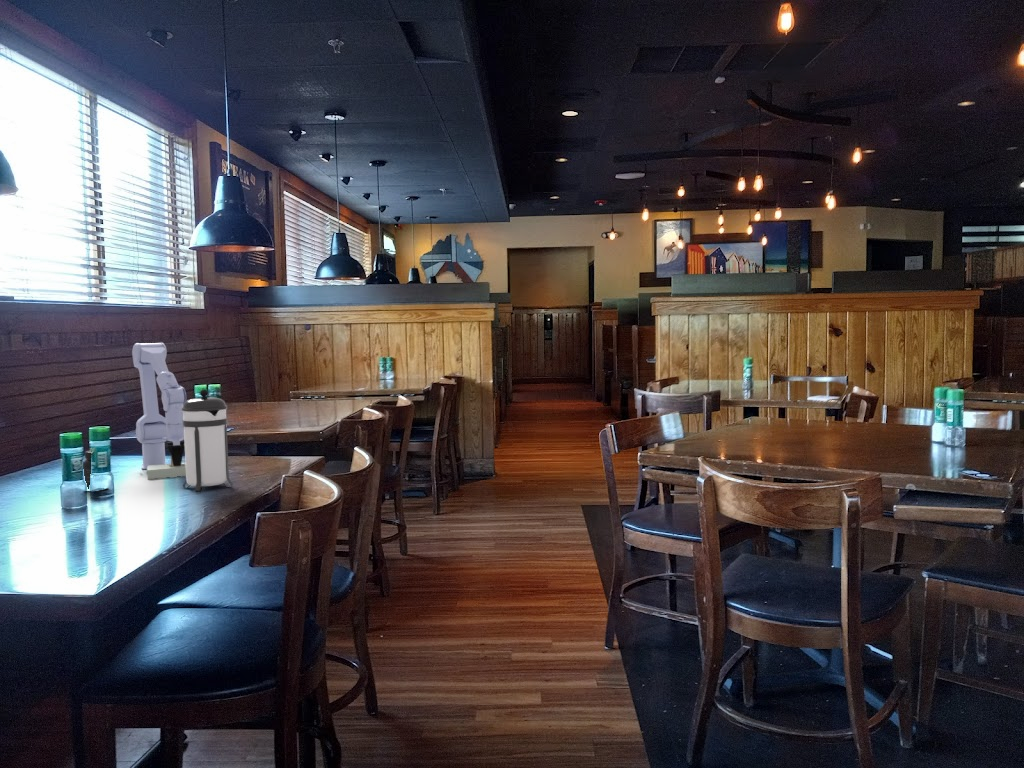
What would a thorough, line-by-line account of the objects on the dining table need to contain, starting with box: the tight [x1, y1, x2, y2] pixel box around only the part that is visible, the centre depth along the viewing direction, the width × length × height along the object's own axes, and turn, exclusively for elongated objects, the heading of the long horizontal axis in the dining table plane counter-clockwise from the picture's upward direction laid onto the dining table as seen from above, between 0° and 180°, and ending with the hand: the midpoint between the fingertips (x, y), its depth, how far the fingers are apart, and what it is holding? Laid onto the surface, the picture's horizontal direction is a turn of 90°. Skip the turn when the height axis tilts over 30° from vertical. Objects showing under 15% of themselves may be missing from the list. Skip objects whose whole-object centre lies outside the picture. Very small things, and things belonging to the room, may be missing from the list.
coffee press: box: [182, 389, 234, 493], centre depth 229 cm, size 17×16×30 cm
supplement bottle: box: [82, 449, 92, 489], centre depth 229 cm, size 7×7×12 cm
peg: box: [170, 455, 178, 467], centre depth 253 cm, size 3×3×6 cm
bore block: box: [146, 462, 186, 480], centre depth 253 cm, size 10×18×3 cm, turn 115°
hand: (177, 464), depth 253 cm, fingers open, 7 cm apart
